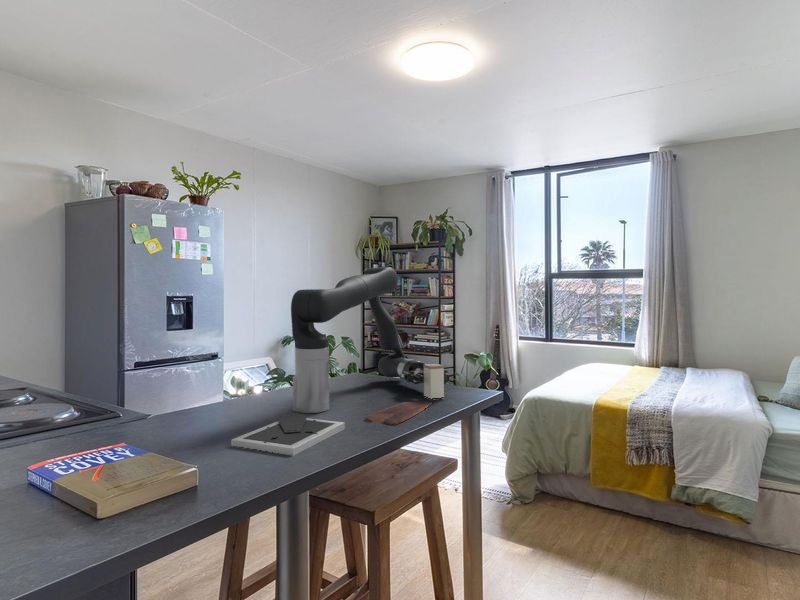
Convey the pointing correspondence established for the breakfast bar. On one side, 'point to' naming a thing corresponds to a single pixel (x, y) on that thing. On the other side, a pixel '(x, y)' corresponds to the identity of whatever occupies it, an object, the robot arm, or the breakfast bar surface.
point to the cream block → (433, 380)
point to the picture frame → (289, 434)
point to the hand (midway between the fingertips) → (435, 378)
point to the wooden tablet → (398, 413)
